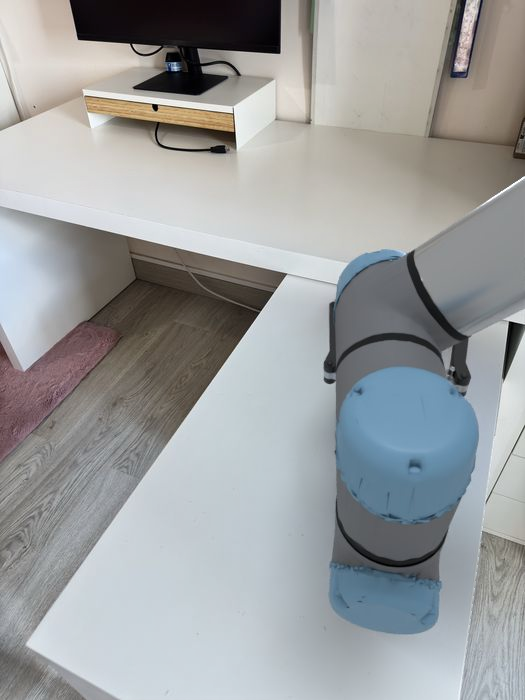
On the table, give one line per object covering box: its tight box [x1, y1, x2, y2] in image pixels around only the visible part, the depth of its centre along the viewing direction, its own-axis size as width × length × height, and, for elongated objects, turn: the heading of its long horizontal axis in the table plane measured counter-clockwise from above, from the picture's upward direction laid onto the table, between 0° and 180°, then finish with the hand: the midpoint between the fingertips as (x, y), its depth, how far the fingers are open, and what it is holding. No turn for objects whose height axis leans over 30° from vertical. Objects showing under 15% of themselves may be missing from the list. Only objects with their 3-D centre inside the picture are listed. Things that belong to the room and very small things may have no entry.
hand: (399, 273), depth 59 cm, fingers closed on mug, 7 cm apart
